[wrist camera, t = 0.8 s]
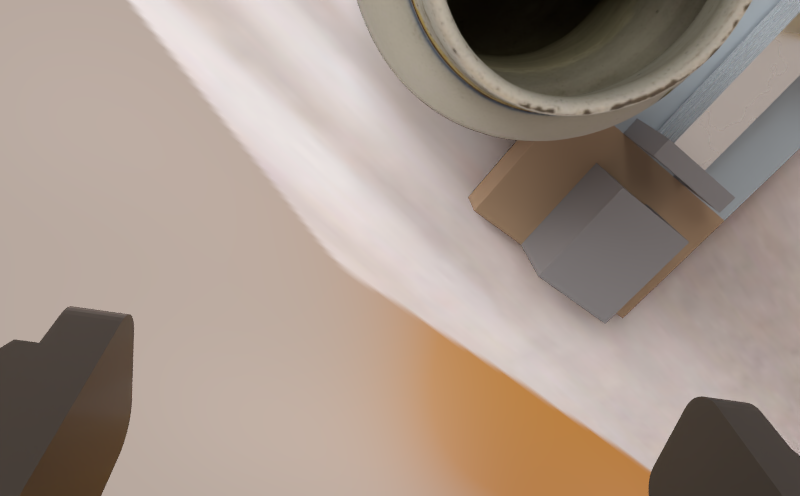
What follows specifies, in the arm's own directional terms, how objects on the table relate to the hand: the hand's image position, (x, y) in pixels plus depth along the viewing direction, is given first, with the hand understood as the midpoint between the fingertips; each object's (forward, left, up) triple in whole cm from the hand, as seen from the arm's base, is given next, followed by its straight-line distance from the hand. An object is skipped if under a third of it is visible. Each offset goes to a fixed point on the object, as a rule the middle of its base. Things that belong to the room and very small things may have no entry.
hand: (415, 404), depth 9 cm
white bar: (-11, +15, -24) cm, 31 cm away
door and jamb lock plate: (-8, +15, -26) cm, 32 cm away
